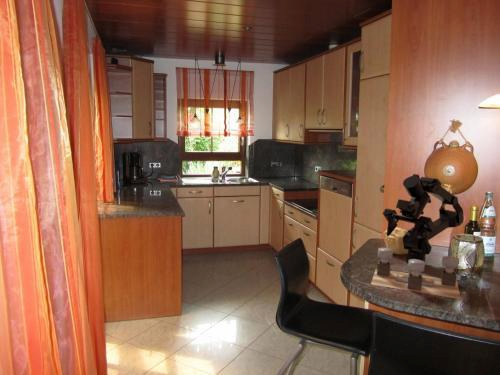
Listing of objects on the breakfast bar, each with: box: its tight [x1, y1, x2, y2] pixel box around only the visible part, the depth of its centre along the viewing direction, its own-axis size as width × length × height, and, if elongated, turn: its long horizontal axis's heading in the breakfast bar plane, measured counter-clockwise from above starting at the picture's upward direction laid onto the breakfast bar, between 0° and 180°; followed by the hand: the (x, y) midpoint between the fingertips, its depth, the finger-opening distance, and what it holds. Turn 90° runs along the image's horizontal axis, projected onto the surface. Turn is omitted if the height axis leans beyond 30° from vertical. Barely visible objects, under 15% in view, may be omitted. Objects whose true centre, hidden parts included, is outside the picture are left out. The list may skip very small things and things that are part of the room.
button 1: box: [377, 247, 394, 265], centre depth 150 cm, size 5×5×5 cm
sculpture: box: [383, 227, 408, 255], centre depth 181 cm, size 12×12×11 cm
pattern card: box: [396, 274, 434, 287], centre depth 145 cm, size 6×12×1 cm, turn 68°
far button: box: [407, 259, 426, 278], centre depth 139 cm, size 5×5×5 cm
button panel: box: [370, 259, 462, 300], centre depth 144 cm, size 16×27×6 cm, turn 68°
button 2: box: [441, 255, 459, 274], centre depth 143 cm, size 5×5×5 cm
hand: (397, 238), depth 154 cm, fingers open, 8 cm apart
